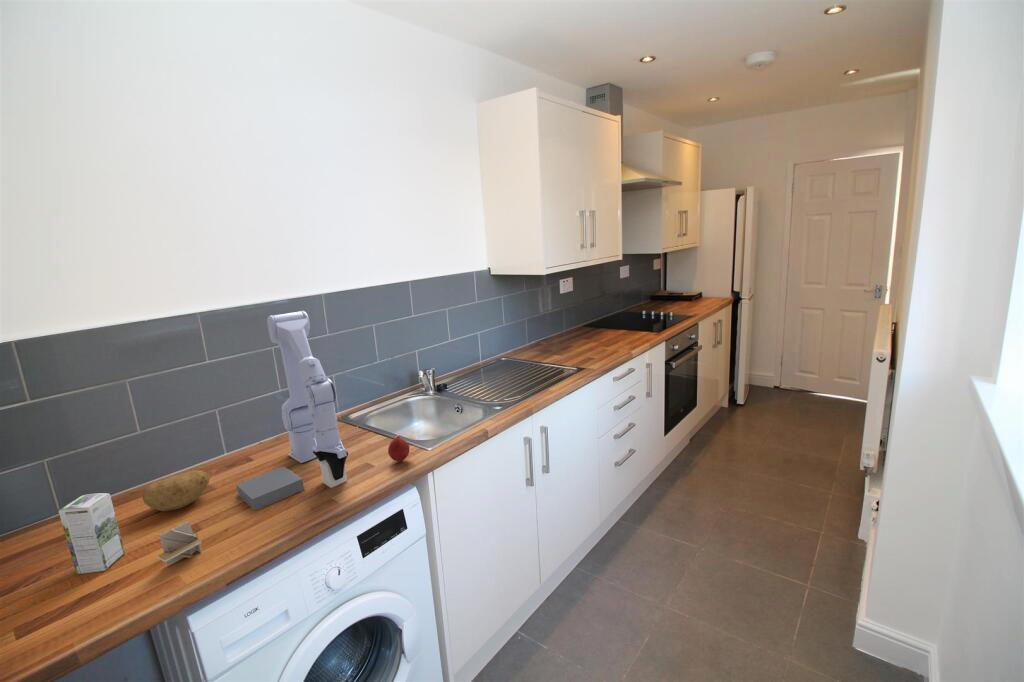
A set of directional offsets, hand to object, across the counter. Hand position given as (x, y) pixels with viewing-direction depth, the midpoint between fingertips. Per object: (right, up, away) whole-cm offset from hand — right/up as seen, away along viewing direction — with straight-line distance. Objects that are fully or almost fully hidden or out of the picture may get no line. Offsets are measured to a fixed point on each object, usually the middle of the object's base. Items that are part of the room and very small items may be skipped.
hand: (334, 475), depth 125 cm
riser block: (-15, -4, -3) cm, 16 cm away
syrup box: (-38, -11, -27) cm, 48 cm away
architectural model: (-20, -10, -27) cm, 36 cm away
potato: (-36, -6, -5) cm, 37 cm away
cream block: (0, -2, 0) cm, 2 cm away
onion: (+15, +1, +9) cm, 18 cm away
